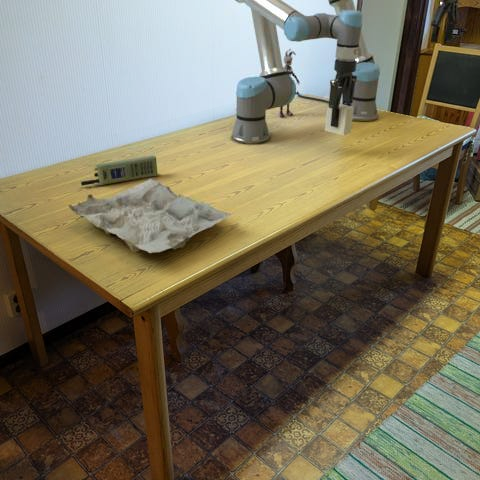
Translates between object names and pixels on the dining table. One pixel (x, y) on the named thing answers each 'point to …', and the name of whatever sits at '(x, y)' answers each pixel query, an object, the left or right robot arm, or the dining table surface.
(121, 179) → the handheld radio
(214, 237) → the dining table surface
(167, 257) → the dining table surface
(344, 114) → the brick
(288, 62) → the figurine
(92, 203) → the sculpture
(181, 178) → the dining table surface
